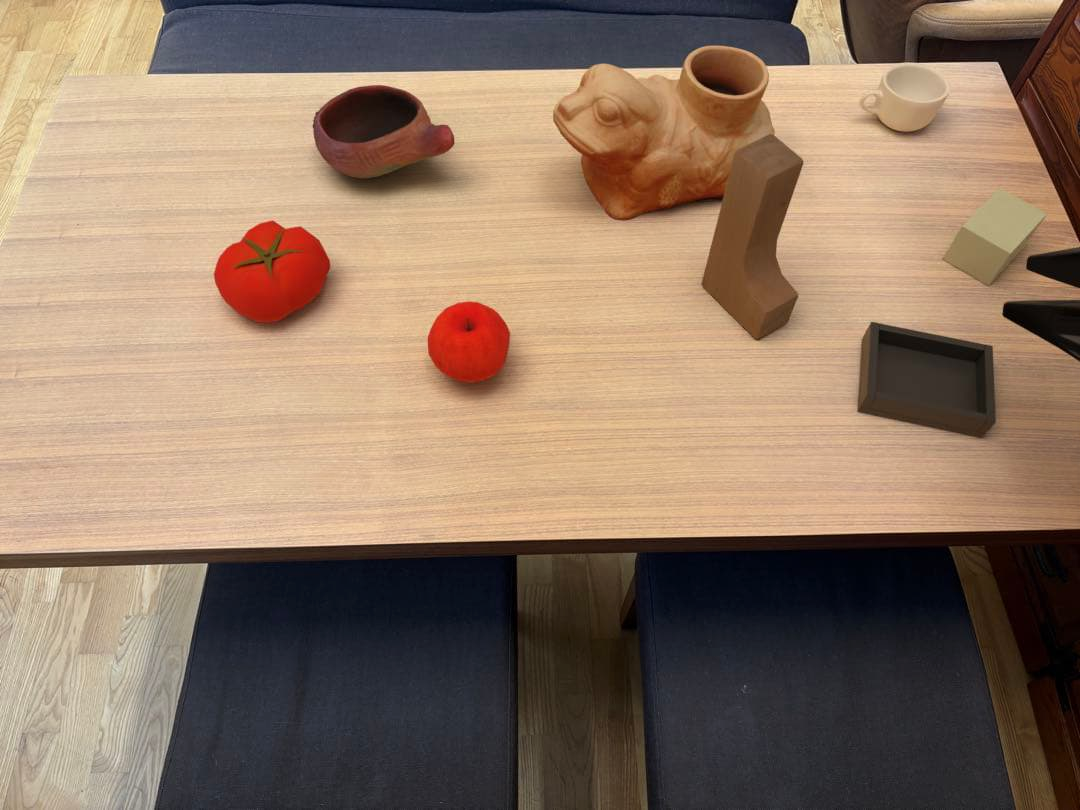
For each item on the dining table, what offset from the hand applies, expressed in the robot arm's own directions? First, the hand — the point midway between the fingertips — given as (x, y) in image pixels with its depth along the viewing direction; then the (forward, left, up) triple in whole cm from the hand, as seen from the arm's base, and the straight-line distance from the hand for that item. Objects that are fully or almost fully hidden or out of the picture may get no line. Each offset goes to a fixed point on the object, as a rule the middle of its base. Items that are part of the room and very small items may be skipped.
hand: (1015, 284), depth 66 cm
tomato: (+65, +2, -19) cm, 68 cm away
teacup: (+4, -43, -19) cm, 47 cm away
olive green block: (-6, -23, -19) cm, 30 cm away
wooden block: (+18, -9, -19) cm, 28 cm away
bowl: (+61, -20, -19) cm, 67 cm away
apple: (+43, +6, -19) cm, 48 cm away
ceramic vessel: (+30, -26, -19) cm, 44 cm away
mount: (0, -3, -19) cm, 19 cm away
